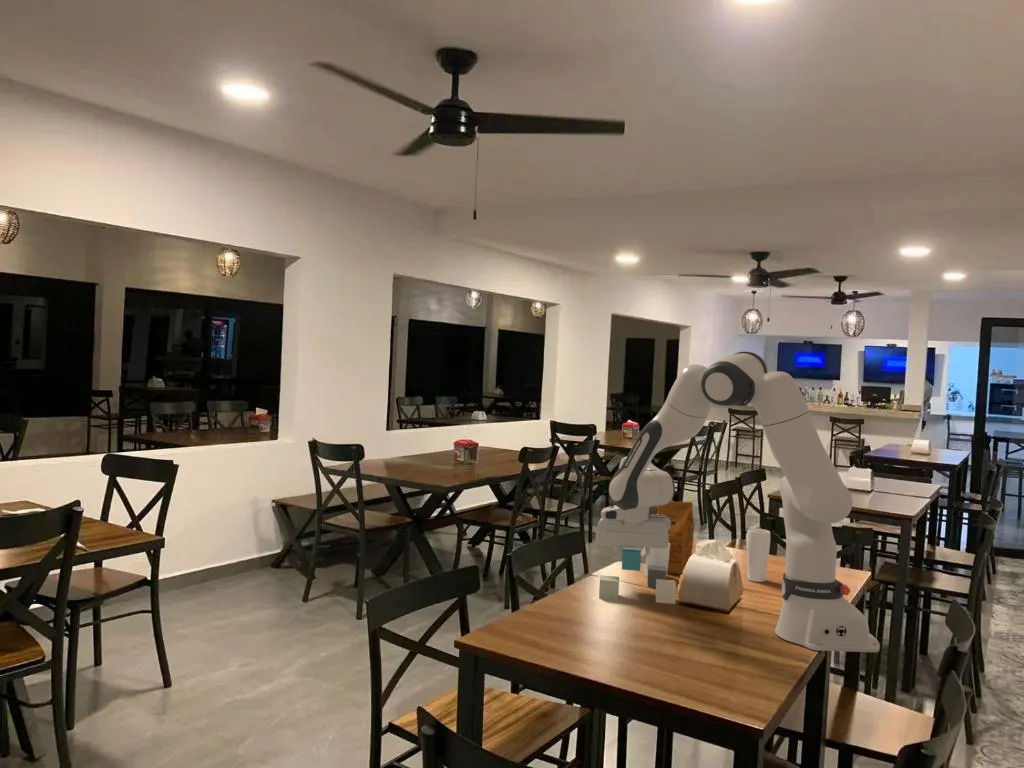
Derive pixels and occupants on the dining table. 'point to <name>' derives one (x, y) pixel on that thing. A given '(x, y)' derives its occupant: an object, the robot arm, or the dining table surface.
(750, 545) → the drinking glass
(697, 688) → the dining table surface
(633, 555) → the teal cube
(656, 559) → the white cup
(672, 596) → the cream cube
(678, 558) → the coffee package
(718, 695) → the dining table surface
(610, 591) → the sage cube
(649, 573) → the charcoal cube
